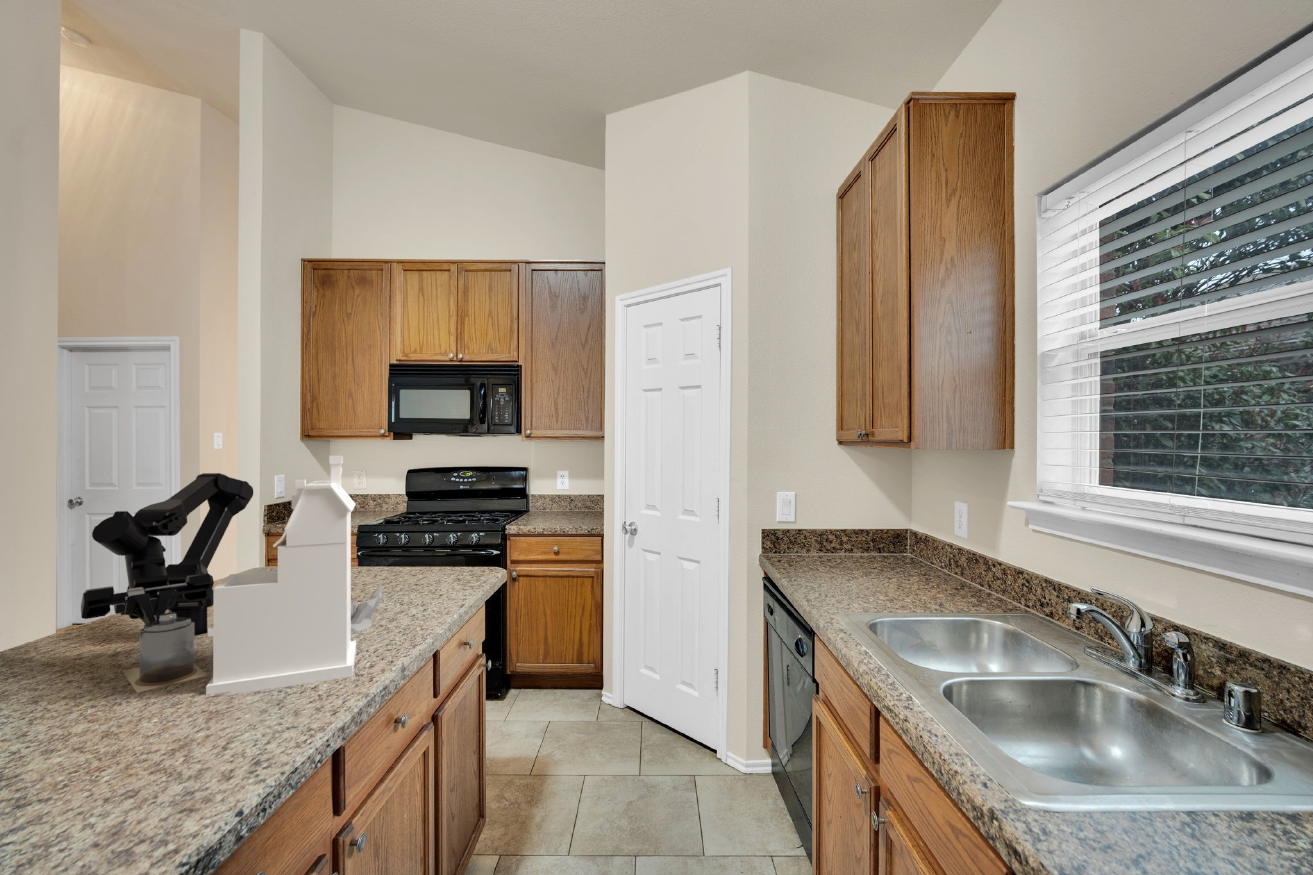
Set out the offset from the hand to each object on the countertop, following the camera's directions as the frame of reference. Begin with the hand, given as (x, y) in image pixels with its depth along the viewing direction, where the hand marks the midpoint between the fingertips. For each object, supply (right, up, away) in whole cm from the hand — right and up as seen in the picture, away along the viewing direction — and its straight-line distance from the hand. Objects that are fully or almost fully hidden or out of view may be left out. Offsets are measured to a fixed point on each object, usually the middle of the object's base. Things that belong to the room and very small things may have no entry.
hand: (156, 632), depth 108 cm
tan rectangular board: (+3, -7, -1) cm, 8 cm away
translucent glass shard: (+22, -8, +28) cm, 36 cm away
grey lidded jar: (+4, -7, -2) cm, 8 cm away
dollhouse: (+24, -8, +1) cm, 25 cm away
